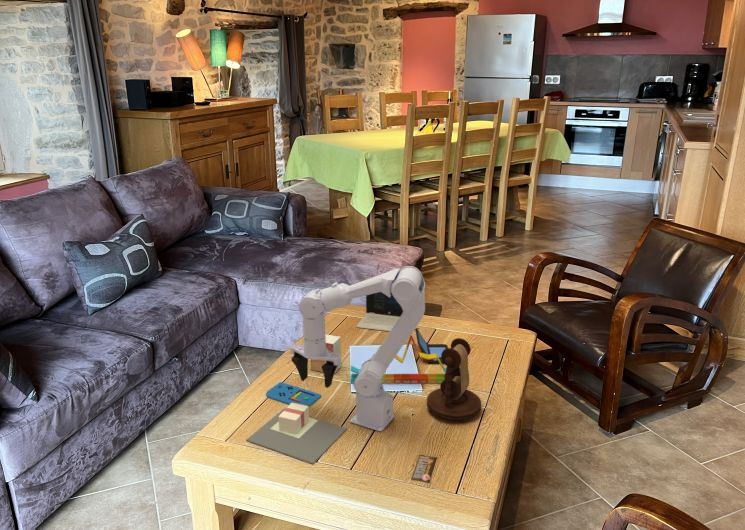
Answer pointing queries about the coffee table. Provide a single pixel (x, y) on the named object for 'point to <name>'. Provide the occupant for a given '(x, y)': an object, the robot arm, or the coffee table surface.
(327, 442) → the mat
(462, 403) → the brown upright jointed piece
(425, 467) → the chocolate bar
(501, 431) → the coffee table surface
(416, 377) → the chart
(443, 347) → the handheld game console
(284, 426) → the card deck
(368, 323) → the laptop
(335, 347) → the small box
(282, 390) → the handheld gaming device
